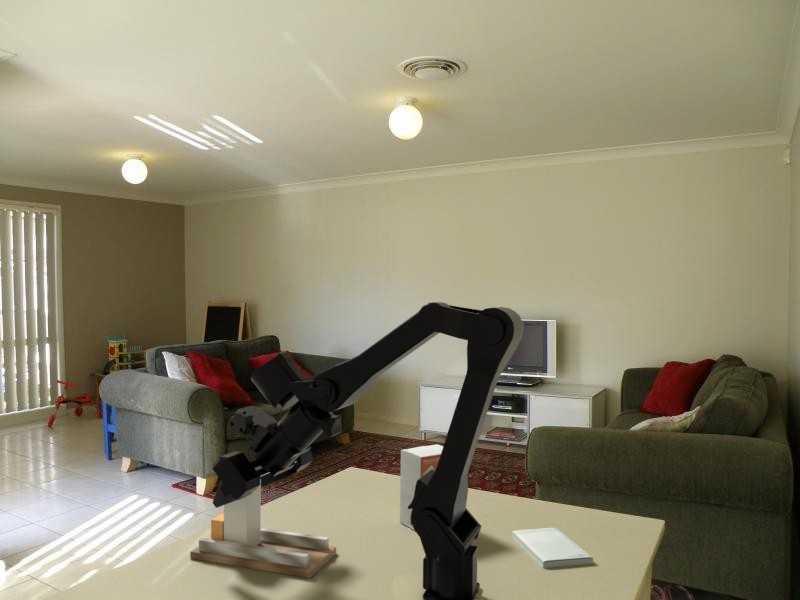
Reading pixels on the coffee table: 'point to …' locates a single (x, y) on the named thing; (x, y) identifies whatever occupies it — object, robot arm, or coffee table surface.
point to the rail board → (271, 552)
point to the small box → (415, 474)
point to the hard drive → (551, 547)
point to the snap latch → (217, 528)
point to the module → (243, 519)
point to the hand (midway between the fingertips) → (234, 495)
